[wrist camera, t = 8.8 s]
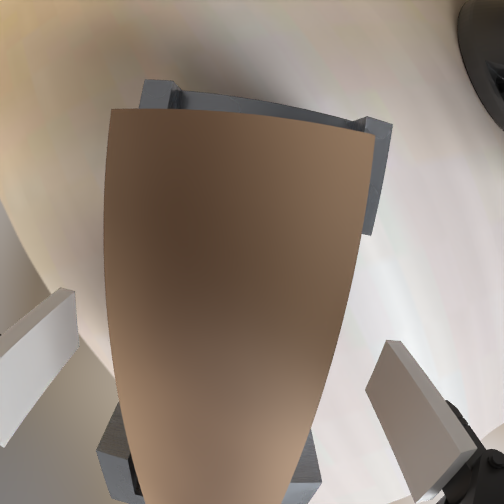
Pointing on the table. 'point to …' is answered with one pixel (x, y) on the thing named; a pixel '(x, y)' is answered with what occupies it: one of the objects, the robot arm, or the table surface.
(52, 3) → the table surface
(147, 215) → the walnut rail
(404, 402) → the robot arm
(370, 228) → the cup bracket stand
